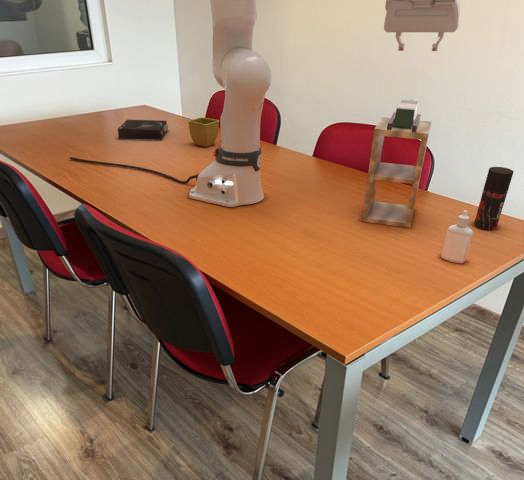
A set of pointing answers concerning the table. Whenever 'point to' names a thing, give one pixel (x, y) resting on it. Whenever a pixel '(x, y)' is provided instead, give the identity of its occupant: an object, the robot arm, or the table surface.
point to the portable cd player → (142, 130)
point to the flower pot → (203, 131)
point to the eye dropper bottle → (457, 240)
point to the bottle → (405, 114)
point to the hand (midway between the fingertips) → (417, 50)
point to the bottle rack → (394, 173)
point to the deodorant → (493, 198)
